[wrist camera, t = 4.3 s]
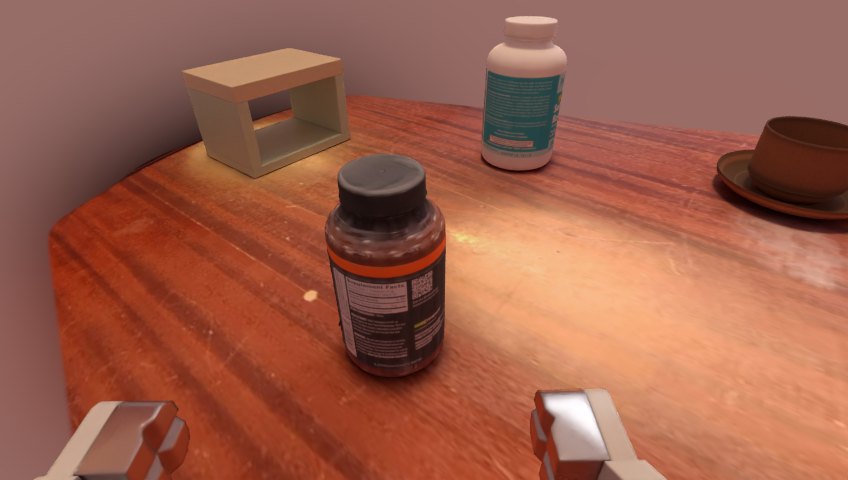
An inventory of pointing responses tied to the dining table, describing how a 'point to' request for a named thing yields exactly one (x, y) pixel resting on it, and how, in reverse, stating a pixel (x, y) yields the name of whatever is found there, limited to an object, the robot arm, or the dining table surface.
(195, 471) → the dining table surface
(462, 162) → the dining table surface
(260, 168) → the shelf
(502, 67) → the pill bottle
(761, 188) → the cup and saucer
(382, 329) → the supplement bottle
